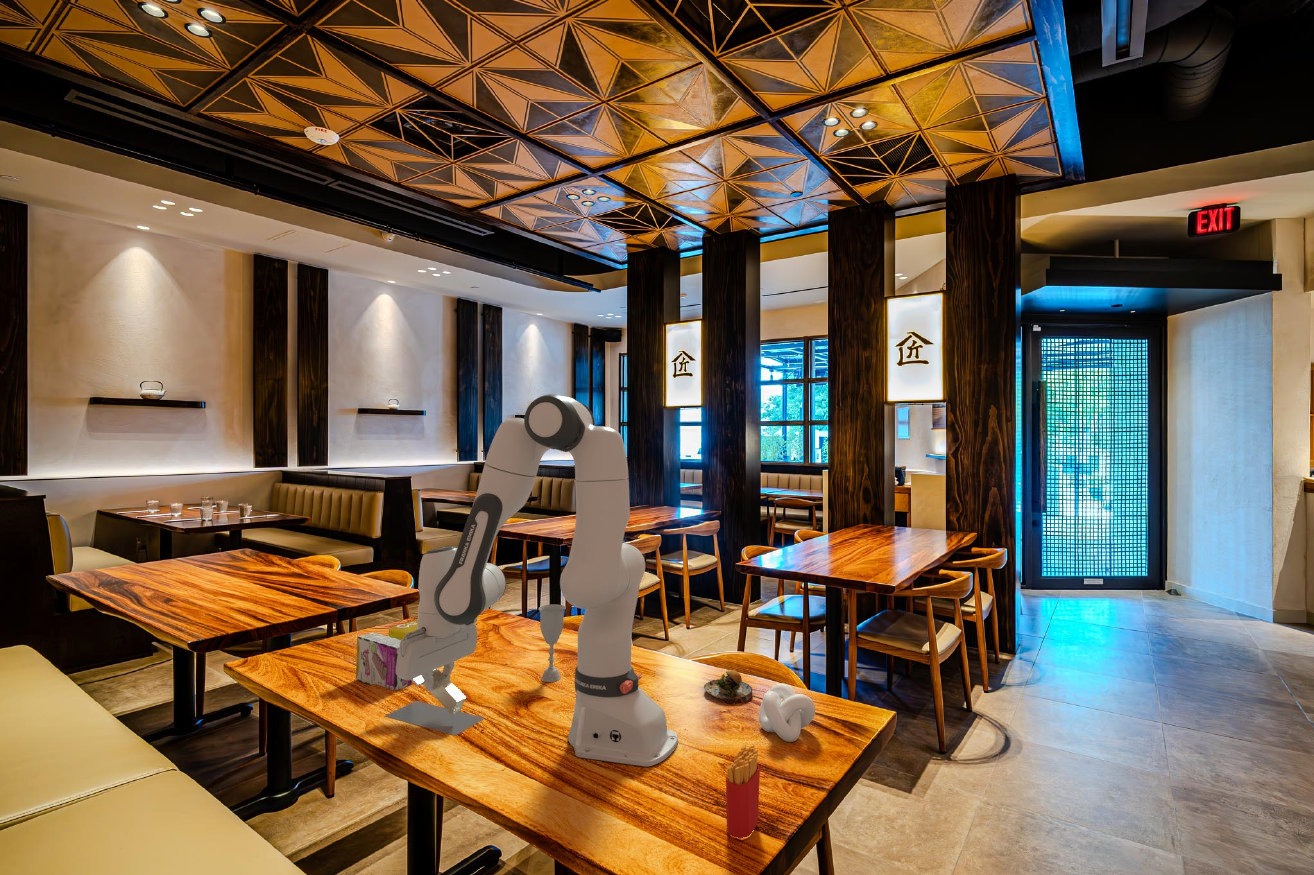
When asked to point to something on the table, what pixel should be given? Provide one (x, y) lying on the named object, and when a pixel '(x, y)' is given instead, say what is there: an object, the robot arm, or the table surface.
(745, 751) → the french fries
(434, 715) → the plate
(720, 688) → the burger
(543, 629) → the chalice
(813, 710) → the white knot sculpture
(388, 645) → the candy bar box
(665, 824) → the table surface
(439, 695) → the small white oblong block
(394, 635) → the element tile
